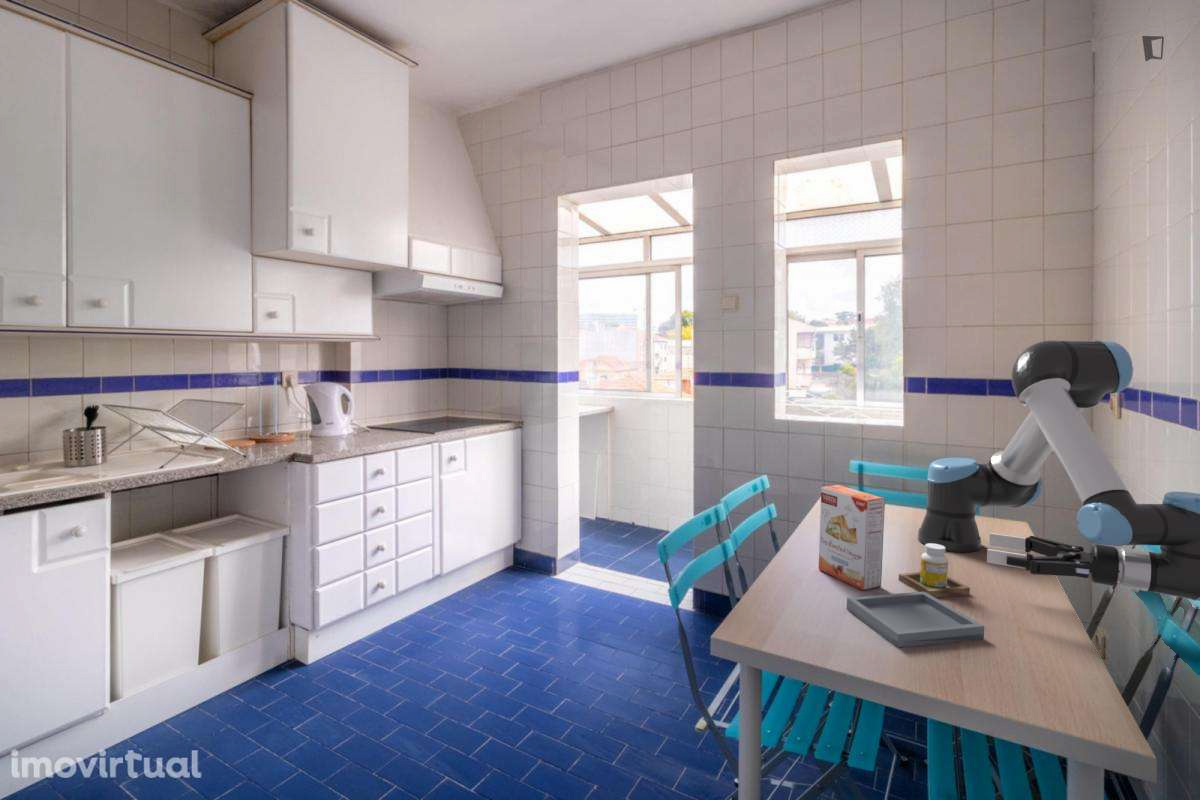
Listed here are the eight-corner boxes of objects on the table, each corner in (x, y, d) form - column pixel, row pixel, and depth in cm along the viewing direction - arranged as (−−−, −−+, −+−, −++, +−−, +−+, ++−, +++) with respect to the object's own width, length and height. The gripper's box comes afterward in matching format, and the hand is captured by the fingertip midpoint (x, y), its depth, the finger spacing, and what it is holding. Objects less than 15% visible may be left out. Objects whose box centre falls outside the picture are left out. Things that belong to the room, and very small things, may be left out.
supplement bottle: (943, 594, 133) (946, 551, 132) (917, 587, 136) (919, 546, 135) (948, 586, 137) (951, 545, 136) (922, 580, 140) (924, 540, 139)
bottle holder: (936, 577, 142) (936, 571, 142) (969, 594, 132) (969, 587, 132) (898, 580, 140) (899, 573, 140) (929, 597, 131) (929, 591, 130)
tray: (923, 602, 128) (924, 591, 128) (983, 638, 112) (984, 626, 112) (846, 609, 125) (846, 597, 125) (897, 647, 109) (898, 634, 109)
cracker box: (816, 570, 147) (819, 485, 145) (835, 566, 149) (838, 483, 147) (862, 591, 134) (866, 499, 132) (882, 587, 136) (886, 497, 134)
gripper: (1125, 607, 107) (984, 581, 119) (1108, 567, 128) (989, 548, 140) (1128, 566, 107) (986, 544, 119) (1110, 532, 127) (991, 517, 139)
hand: (988, 546), depth 129 cm, fingers open, 13 cm apart
